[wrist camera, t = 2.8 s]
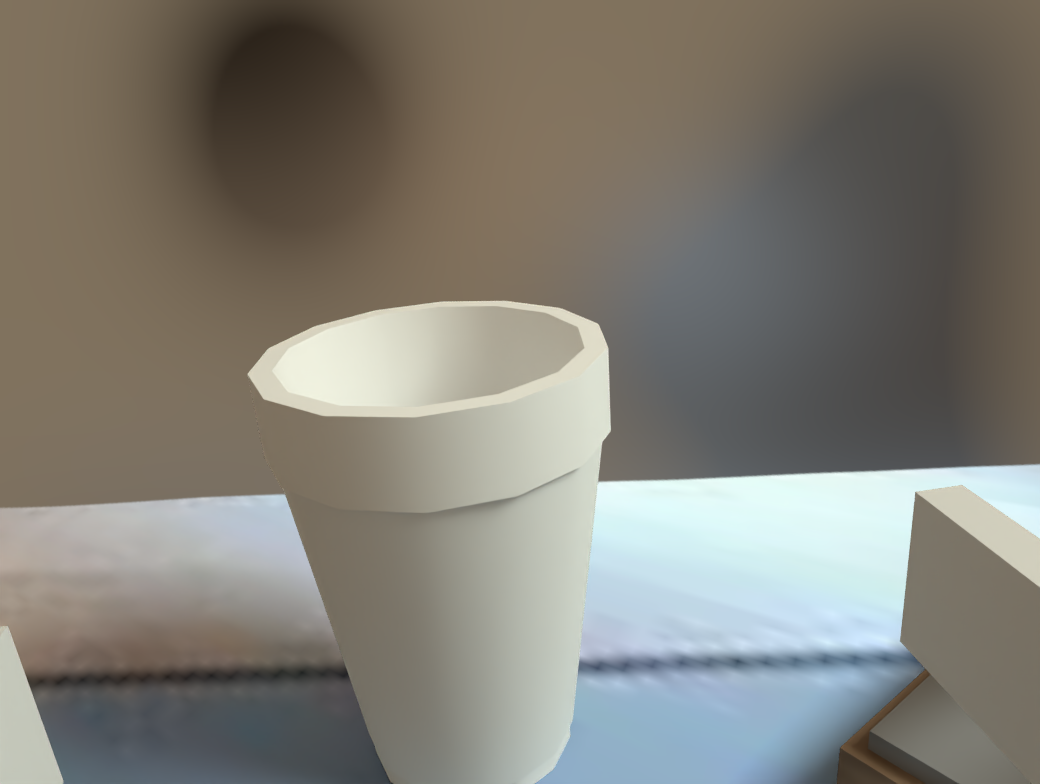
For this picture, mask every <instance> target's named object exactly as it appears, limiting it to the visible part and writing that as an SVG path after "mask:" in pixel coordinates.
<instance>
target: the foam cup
mask: <svg viewBox="0 0 1040 784" xmlns="http://www.w3.org/2000/svg"><path fill="white" fill-rule="evenodd" d="M248 380H249V385H250V390H251V394H252V400H253V404H254V410H255V415H256V419H257V425H258V430H259V434H260V439H261V444H262V449H263V454H264V458H265V459H266V461H267V463H268V465H269V467H270V469H271V470H272V472H273V474H274V476H275V478H276V479H277V481H278V483H279V485H280V487H281V488H283V489H284V492H285V495H286V498H287V501H288V504H289V507H290V509H291V512H292V515H293V518H294V521H295V524H296V526H297V529H298V532H299V535H300V538H301V541H302V544H303V546H304V549H305V552H306V555H307V558H308V561H309V563H310V566H311V569H312V572H313V575H314V578H315V581H316V583H317V586H318V589H319V592H320V595H321V598H322V601H323V603H324V606H325V609H326V612H327V615H328V618H329V620H330V623H331V626H332V629H333V632H334V635H335V638H336V640H337V643H338V646H339V649H340V652H341V655H342V658H343V660H344V663H345V666H346V669H347V672H348V675H349V677H350V680H351V683H352V686H353V689H354V692H355V695H356V697H357V700H358V703H359V706H360V709H361V712H362V715H363V717H364V720H365V723H366V726H367V729H368V732H369V734H370V737H371V739H372V741H373V743H374V745H375V749H376V752H377V754H378V757H379V759H380V761H381V763H382V765H383V767H384V769H385V771H386V773H387V776H388V778H389V780H390V782H392V783H393V784H535V783H536V782H538V781H539V780H540V779H542V778H543V777H544V776H546V775H547V774H548V773H550V772H551V771H552V770H554V768H555V766H556V764H557V762H558V760H559V758H560V756H561V754H562V752H563V750H564V748H565V746H566V744H567V742H568V740H569V738H570V725H571V723H572V721H573V711H574V702H575V692H576V683H577V674H578V664H579V655H580V645H581V636H582V626H583V617H584V608H585V598H586V589H587V579H588V570H589V560H590V551H591V542H592V532H593V523H594V513H595V504H596V494H597V485H598V475H599V466H600V456H601V447H602V441H603V440H604V439H605V438H606V436H607V435H608V434H609V432H610V431H611V427H610V394H609V361H608V347H607V344H606V341H605V339H604V337H603V334H602V332H601V329H600V327H599V324H597V323H594V322H592V321H590V320H587V319H585V318H583V317H580V316H578V315H576V314H573V313H571V312H568V311H566V310H564V309H561V308H555V307H547V306H540V305H533V304H524V303H517V302H510V301H465V302H463V301H462V302H436V303H428V304H421V305H413V306H406V307H398V308H390V309H383V310H376V311H371V312H368V313H364V314H360V315H356V316H353V317H349V318H345V319H341V320H338V321H334V322H330V323H326V324H322V325H318V326H315V327H313V328H310V329H308V330H306V331H304V332H302V333H300V334H298V335H296V336H294V337H291V338H289V339H287V340H285V341H283V342H281V343H279V344H277V345H275V346H272V347H270V348H268V350H267V351H266V352H265V353H264V355H263V356H262V357H261V358H260V359H259V361H258V362H257V363H256V365H255V366H254V367H253V368H252V369H251V371H250V372H249V373H248Z"/></svg>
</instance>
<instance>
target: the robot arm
mask: <svg viewBox="0 0 1040 784" xmlns="http://www.w3.org/2000/svg"><path fill="white" fill-rule="evenodd" d="M900 642H901V643H902V644H903V645H904V646H905V647H906V648H907V649H908V650H909V651H910V652H911V653H912V655H913V656H914V657H915V658H916V659H917V660H918V661H919V662H920V663H921V664H922V665H923V666H924V668H925V669H926V670H927V671H928V672H929V673H930V674H931V675H932V676H933V677H934V678H935V679H936V681H937V682H938V683H939V684H940V685H941V686H942V687H943V688H944V689H945V690H946V691H947V692H948V694H949V695H950V696H951V697H952V698H953V699H954V700H955V701H956V702H957V703H958V704H959V705H960V707H961V708H962V709H963V710H964V711H965V712H966V713H967V714H968V715H969V716H970V717H971V718H972V720H973V721H974V722H975V723H976V724H977V725H978V726H979V727H980V728H981V729H982V730H983V731H984V733H985V734H986V735H987V736H988V737H989V738H990V739H991V740H992V741H993V742H994V743H995V744H996V746H997V747H998V748H999V749H1000V750H1001V751H1002V752H1003V753H1004V754H1005V755H1006V756H1007V757H1008V759H1009V760H1010V761H1011V762H1012V763H1013V764H1014V765H1015V766H1016V767H1017V768H1018V769H1019V770H1020V772H1021V773H1022V774H1023V775H1024V776H1025V777H1026V778H1027V779H1028V780H1029V781H1030V782H1031V783H1032V784H1040V539H1039V538H1038V537H1036V536H1035V535H1033V534H1032V533H1031V532H1029V531H1028V530H1026V529H1025V528H1023V527H1022V526H1021V525H1019V524H1018V523H1016V522H1015V521H1013V520H1012V519H1010V518H1009V517H1008V516H1006V515H1005V514H1003V513H1002V512H1000V511H999V510H997V509H996V508H995V507H993V506H992V505H990V504H989V503H987V502H986V501H984V500H983V499H982V498H980V497H979V496H977V495H976V494H974V493H973V492H971V491H970V490H969V489H967V488H966V487H964V486H963V485H959V486H952V487H946V488H939V489H932V490H925V491H919V492H915V502H914V512H913V521H912V531H911V541H910V551H909V560H908V570H907V580H906V590H905V599H904V609H903V619H902V628H901V638H900ZM63 782H64V781H63V779H62V776H61V773H60V770H59V767H58V765H57V762H56V759H55V756H54V754H53V751H52V748H51V745H50V742H49V740H48V737H47V734H46V731H45V728H44V726H43V723H42V720H41V717H40V714H39V712H38V709H37V706H36V703H35V700H34V698H33V695H32V692H31V689H30V686H29V684H28V681H27V678H26V675H25V672H24V670H23V667H22V664H21V661H20V658H19V656H18V653H17V650H16V647H15V645H14V642H13V639H12V636H11V633H10V631H9V628H8V626H2V627H0V784H63Z"/></svg>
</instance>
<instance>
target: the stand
mask: <svg viewBox="0 0 1040 784" xmlns="http://www.w3.org/2000/svg"><path fill="white" fill-rule="evenodd" d="M837 784H1032V783H1031V782H1030V781H1029V780H1028V779H1027V778H1026V777H1025V776H1024V775H1023V774H1022V773H1021V772H1020V770H1019V769H1018V768H1017V767H1016V766H1015V765H1014V764H1013V763H1012V762H1011V761H1010V760H1009V759H1008V757H1007V756H1006V755H1005V754H1004V753H1003V752H1002V751H1001V750H1000V749H999V748H998V747H997V746H996V744H995V743H994V742H993V741H992V740H991V739H990V738H989V737H988V736H987V735H986V734H985V733H984V731H983V730H982V729H981V728H980V727H979V726H978V725H977V724H976V723H975V722H974V721H973V720H972V718H971V717H970V716H969V715H968V714H967V713H966V712H965V711H964V710H963V709H962V708H961V707H960V705H959V704H958V703H957V702H956V701H955V700H954V699H953V698H952V697H951V696H950V695H949V694H948V692H947V691H946V690H945V689H944V688H943V687H942V686H941V685H940V684H939V683H938V682H937V681H936V679H935V678H934V677H933V676H932V675H931V674H930V673H929V672H928V671H927V670H926V669H925V670H924V671H923V672H922V673H921V674H920V675H919V676H918V677H917V678H916V679H914V680H913V681H912V682H911V683H910V684H909V685H908V686H907V687H906V688H905V689H904V690H902V691H901V692H900V693H899V694H898V695H897V696H896V697H895V698H894V699H893V700H892V701H890V702H889V703H888V704H887V705H886V706H885V707H884V708H883V709H882V710H881V711H880V712H878V713H877V714H876V715H875V716H874V717H873V718H872V719H871V720H870V721H869V722H868V723H866V724H865V725H864V726H863V727H862V728H861V729H860V730H859V731H858V732H857V733H856V734H854V735H853V736H852V737H851V738H850V739H849V740H848V741H847V742H846V743H845V744H844V745H842V746H841V747H840V753H839V764H838V774H837Z"/></svg>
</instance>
